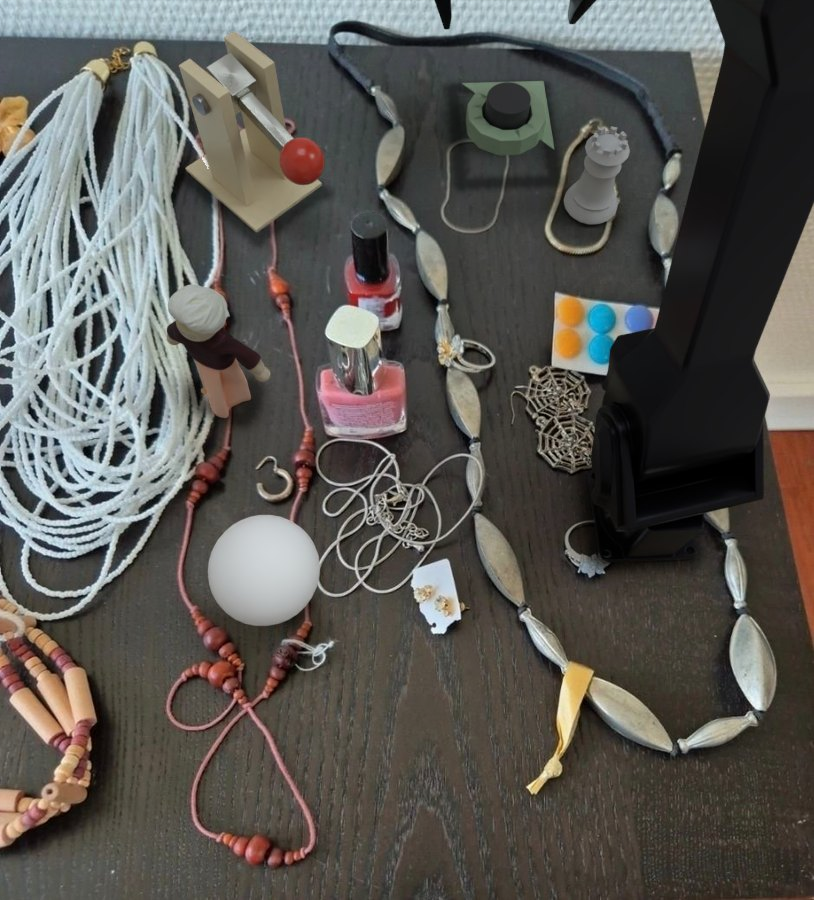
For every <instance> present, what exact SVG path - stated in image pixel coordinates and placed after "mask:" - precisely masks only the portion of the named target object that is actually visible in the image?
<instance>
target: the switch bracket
mask: <svg viewBox="0 0 814 900" xmlns="http://www.w3.org/2000/svg"><path fill="white" fill-rule="evenodd" d="M223 39H224V40H223V41H224V44H225V49H226V52H227V54H228V53H230V52H231V53H232V54H233V56H234V57H235V58H236V59H237V60H238V61H239V62H240V63H241V64H242V65H243V66H244V67H245V69H246V70H247V71H248V72H249V73H250V74H251V75H252V76H253V77H254V78H255V79H256V98H257V99H258V100H259V101H260V102H261V103H262V104H263V105H264V106H265V107H266V108H267V110H268V111H269V112H270V113H271V114H272V115H273V116H274V117H275V118H276V119H277V120H278V121H279V123H280V124H281V125H282V126H283V127H284V128H285V129H286V130H287V127H286V121H285V115H284V110H283V103H282V98H281V93H280V86H279V82H278V76H277V75H278V74H277V69H276V64H275V61H274V60H272V59H271V58H270V57H269V56H268V55H266V54H265V53H264V52H263V51H261V50H260V49H258V48H257V47H256V46H255V45H253V44H252V43H251V42H249V40H247V39H246V38H244V37H243V36H242V35H240V34H239V33H238V32H236V31H235V30H233V31H232V32H230V33H228V34H227V35H225V36H224V37H223ZM178 68H179V71H180V74H181V77H182V81H183V84H184V87H185V90H186V94H187V97H188V101H189V104H190V108H191V111H192V113H193V118H194V122H195V124H196V127H197V130H198V134H199V137H200V140H201V144H202V148H203V150H204V153H205V154H204V155H203V156H205V157H206V160H207V162H208V164H209V167H208V168H209V169H207V166H206V165H205V163H204V162H203V160H202V156H201V157H199V158H198V159H196V160H195V161H193V162H192V163H191V164H189V165H187V166H186V167H185V171H186V172H187V173H188V174H190V176H191V177H192V178H194V179H195V180H196V181H197V182H198V183H199V184H200V185H201V186H202V187H204V188H205V189H206V190H207V191H208V192H209V193H210V194H211V195H213V196H214V197H215V198H216V199H217V200H218V201H219V202H220V203H222V204H223V205H224V206H225V207H226V208H227V209H229V210H230V211H231V212H232V213H233V214H234V215H235V216H236V217H238V218H239V219H240V220H241V221H242V222H243V224H246V226H248V228H249V229H251V230H252V231H253V232H254V233H258V232H260V231H261V230H263V229H264V228H265V227H267V226H268V225H270V224H271V223H272V222H274V221H275V220H276V219H278V218H279V217H281V216H282V215H283V214H285V213H286V212H287V211H289V210H291V209H292V208H293V207H295V206H296V205H297V204H298V203H300V202H302V201H303V200H304V199H306V198H307V197H308V196H310V195H311V194H312V193H314V192H315V191H317V190H318V189H320V187H322V186H323V183H322V182H321V181H320V180H319V178H318V179H317V180H316V181H315V182H313V183H311V184H308V185H298V184H295V183H292V182H291V181H289V180H288V179H287V178H286V177H285V176H284V174H283V173H282V171H281V168H280V164H279V157H280V151H279V150H278V149H277V148H276V147H275V146H274V145H273V144H272V143H271V142H270V140H269V139H268V138H267V137H266V136H265V135H264V134H263V133H262V132H261V131H260V130H259V128H258V127H257V126H256V125H255V124H254V123H253V122H252V121H251V120H250V119H249V118H248V116H247V115H246V114H245V113H244V112H243V111H242V112H240V114H241V116H242V122H243V125H244V128H243V129H241V130H240V128H239V124H238V121H237V115H236V116H235V111H234V107H233V103H232V99H231V95H230V91H229V90H228V89H226V88H225V87H224V86H223V85H222V84H220V83H219V82H218V81H217V80H215V79H214V78H213V77H212V76H211V75H209V74H208V73H207V72H206V70H205V69H204V68H202V67H201V66H200V65H199V64H197V63H196V62H195V61H194V60H192V59H191V58H187V59H186V60H185V61H183V62H181V63H180V64H179V65H178Z"/></svg>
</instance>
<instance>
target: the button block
mask: <svg viewBox="0 0 814 900" xmlns="http://www.w3.org/2000/svg"><path fill="white" fill-rule="evenodd" d="M504 82H505V81H490V82H485V81H484V82H483V81H482V82H461V85H463V86H464V87H466V88H467V89H468V90H470V91H472V92H473V93H474V95H473V96H472V97H471V99H470V100H469V102H468V103H467V105H466V115H465V125H466V127H465V128H466V134H467V137H468V139H470V140H471V141H472V142H473V143H474V144H475V146H476V147H477V148H478V149H480V150H483V151H485V152H487V153H489V154H493V155H496V156H499V157H500V156H519V155H522V154H524V153H526V152H527V151H530V150H532V149H534V148H536V147H537V145H538V143H539V142H540V141H541V142H543V143H544V144H546V145H547V146H548V147H549V148H551V149H552V150H555V144H554V138H553V132H552V124H551V118H550V113H549V108H548V107H549V106H548V99H547V95H546V89H545V82H544V80H526V81H510V82H511V83H516V84H519V85H521V86H523V87H524V88H525V89H527V91H528V92H529V94H530V97H531V103H530V108H529V114H528V118H527V121H526V122H525V124H524V125H523V126H521V127H520V128H517V129H514V130H501V129H499V128H496V127H494V126H492V125H491V124H490V123H489V122H488V121H487V119H486V118H484V117H485V108H486V100H487V94H488V92H489V90H490V89H491V88H492V87H493V86H495V85H497V84H499V83H504Z"/></svg>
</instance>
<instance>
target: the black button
mask: <svg viewBox="0 0 814 900" xmlns="http://www.w3.org/2000/svg"><path fill="white" fill-rule="evenodd" d="M503 82H504V83H499V84H497V85H495V86H493V87H492V88H491V89H490V90H489V92H488V94H487V100H486V108H485V116H484V117H485V120H486V121H487V122H488V123H489V125H491V126H494V127H496V128H499V129H501V130H516V129H518V128H520V127H522V126H523V125H524V124H525V122H526V121H527V118H528V114H529V108H530V103H531V97H530V94H529V92H528V91H527V89H525V88H524V87H523V86H521V85H519V84H516V83H511V82H512V81H503Z"/></svg>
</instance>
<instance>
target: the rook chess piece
mask: <svg viewBox="0 0 814 900" xmlns="http://www.w3.org/2000/svg"><path fill="white" fill-rule="evenodd" d="M606 129H607V128H606V127H605V126H602V127H599V128H598V129H597V132H594V133H593V135H591V136H590V137H589V138H588V139H587V140H586V143H585V145H584V148H585V153H586V156H585V157H584V160H583V165H584V170H583V171H582V174H581V175H580V178H579V179H578V180H577V181H575V183H573V184H571V186H570V187H569V188H568V189H567V191H565V194H564V198H563V206H564V209H565V210H566V212H567V213H568V214H569V216H570V217H572V218H573V219H574V220H576V221H577V222H579V223H581V224H584V225H589V226H591V225H601V224H603V223H605V222H607V221H610V220H611V219H612V218H613V217H614V216H615V215H616V213H617V210H618V206H619V201H618V198H617V194H616V190H615V183H616V176H617V175H618V174H619V173H620V172H621V170H622V166H623V165H622V164H623V163H624V162H625V161H626V160H627V159H628V158H629V156H630V154H631V149H630V145H629V143H628V142H629V140H627V137H628V134H627V133H626V132H625V131H624V130H623V131H621V132H620V133H617V131H618V126H617V127H616V126H613V125H611V126H610V127H609V130H606Z"/></svg>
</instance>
